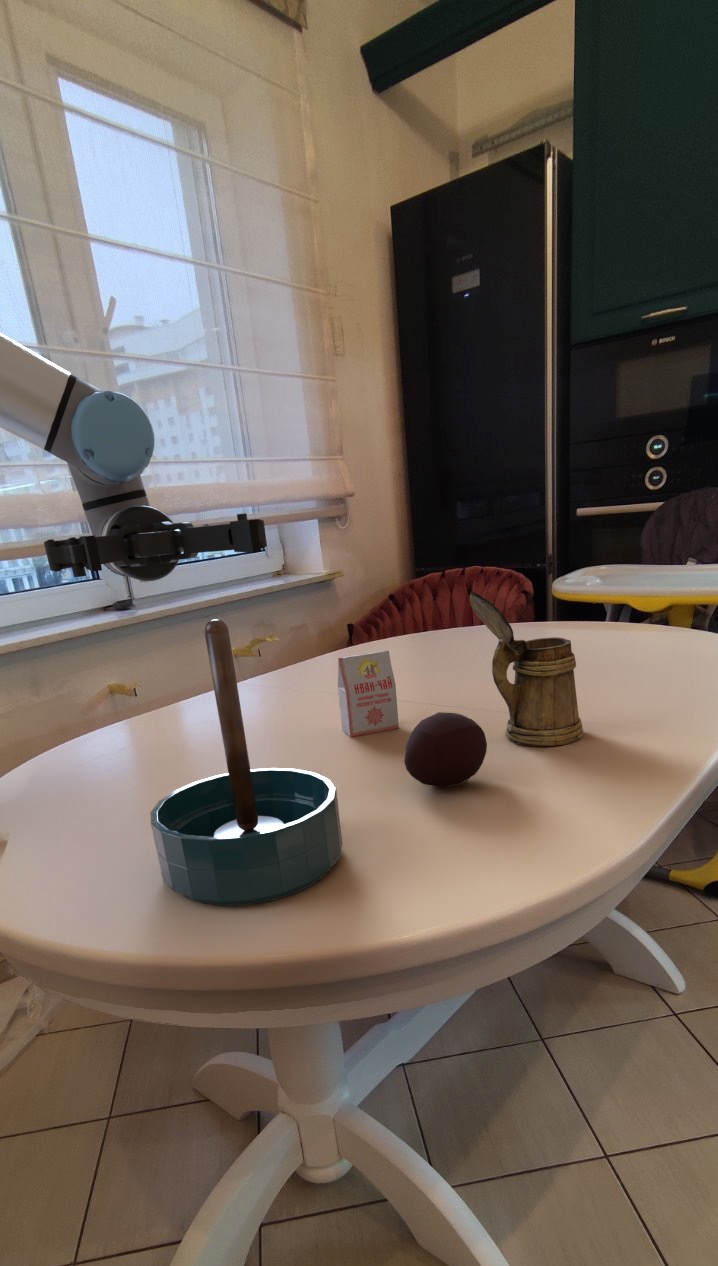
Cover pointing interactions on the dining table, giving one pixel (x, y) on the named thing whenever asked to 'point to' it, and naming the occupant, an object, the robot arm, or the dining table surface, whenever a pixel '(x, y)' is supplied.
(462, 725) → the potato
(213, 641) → the brown stick with disc
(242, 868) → the bowl
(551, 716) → the wooden mug
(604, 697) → the dining table surface
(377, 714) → the tea bag
